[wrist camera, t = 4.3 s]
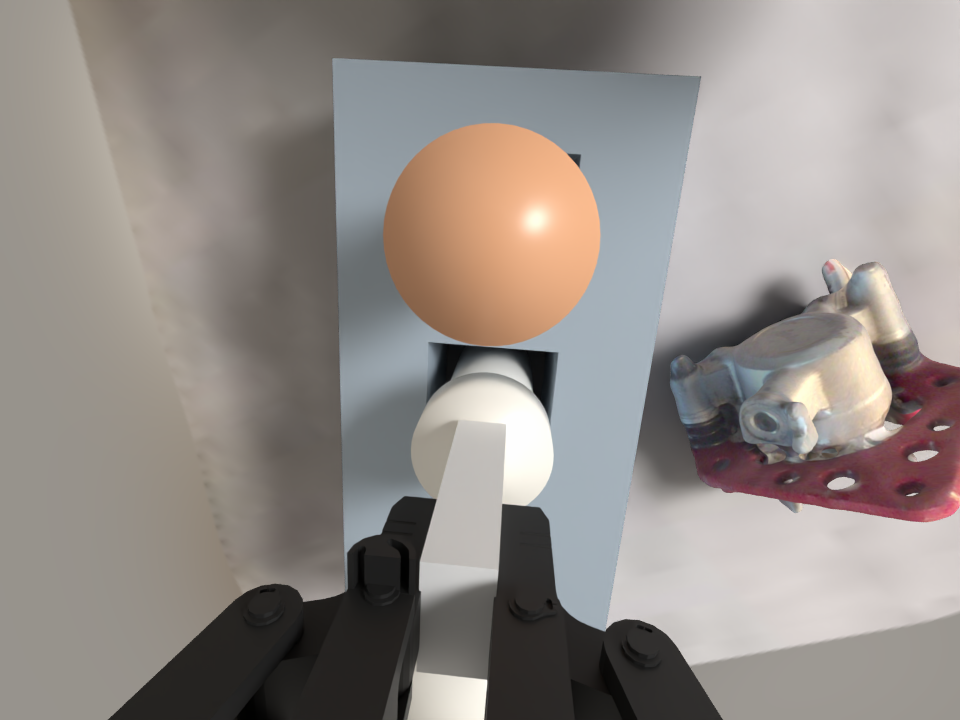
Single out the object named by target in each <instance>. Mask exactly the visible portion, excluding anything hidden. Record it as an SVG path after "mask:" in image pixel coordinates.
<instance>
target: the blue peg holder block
mask: <svg viewBox="0 0 960 720" xmlns="http://www.w3.org/2000/svg"><path fill="white" fill-rule="evenodd" d="M332 64H333V106H334V147H335V189H336V230H337V272H338V313H339V355H340V396H341V438H342V479H343V521H344V563H345V592H346V591H347V589H348V575H347V552H348V551H349V550H350V549H351V547H352V546H353V545H354V544H355V543H357V542H359V541H360V540H362V539H364V538H367V537H370V536H374V535H380V534H381V533H382V529H383V527H384V525H385V522H386V521H387V517H388V515H389V513H390V510H391V508H392V506H393V505H394V504H396V503H397V502H398V501H399V500H400V499H401V498H403V497H404V496H412V497H422V498H432V497H431V496H430V495H429V494H428V493H427V491H426V490H425V489H424V488H423V486H422V485H421V483H420V482H419V480H418V478H417V476H416V474H415V471H414V468H413V465H412V459H411V442H412V438H413V433H414V431H415V428H416V426H417V424H418V422H419V419H420V417H421V415H422V413H423V411H424V408H425V406H426V404H427V403H428V401H429V399H430V398H431V397H432V396H433V394H434V393H435V392H436V391H437V390H438V389H439V388H440V387H442V386H443V385H444V384H446V383H447V382H449V381H451V378H452V375H453V373H454V370H455V368H456V365H457V362H458V360H459V357H460V355H461V353H462V351H463V349H464V348H465V347H466V345H471V346H479V345H472V344H468V343H464V342H460V341H457V340H454V339H452V338H450V337H447V336H445V335H443V334H441V333H440V332H438V331H436V330H434V329H433V328H431V327H430V326H429V325H427V324H426V323H425V322H423V321H422V320H421V319H420V318H419V317H418V316H417V315H416V314H415V313H414V312H413V311H412V310H411V309H410V308H409V306H408V305H407V304H406V303H405V301H404V300H403V298H402V297H401V295H400V293H399V292H398V290H397V289H396V286H395V284H394V282H393V280H392V278H391V275H390V272H389V269H388V266H387V263H386V257H385V252H384V242H383V228H384V218H385V212H386V207H387V204H388V201H389V198H390V195H391V192H392V190H393V188H394V186H395V183H396V181H397V179H398V178H399V176H400V175H401V173H402V171H403V170H404V168H405V167H406V166H407V164H408V163H409V162H410V161H411V160H412V159H413V158H414V156H415V155H416V154H417V153H418V152H420V151H421V150H422V149H423V148H424V147H425V146H427V145H428V144H429V143H431V142H432V141H434V140H435V139H437V138H438V137H440V136H442V135H444V134H446V133H449V132H451V131H453V130H456V129H459V128H462V127H465V126H469V125H475V124H482V123H501V124H509V125H515V126H518V127H522V128H525V129H529V130H531V131H533V132H535V133H538V134H540V135H542V136H544V137H545V138H547V139H548V140H550V141H552V142H553V143H555V144H556V145H557V146H558V147H560V148H561V149H562V150H563V151H564V152H566V153H567V154H568V156H569V157H570V158H571V159H572V160H573V161H574V162H575V163H576V164H577V166H578V167H579V169H580V170H581V172H582V173H583V175H584V176H585V178H586V180H587V182H588V184H589V186H590V188H591V190H592V193H593V196H594V199H595V202H596V204H597V209H598V214H599V219H600V234H601V235H600V250H599V255H598V260H597V264H596V267H595V270H594V273H593V276H592V279H591V281H590V283H589V285H588V287H587V289H586V291H585V293H584V294H583V296H582V297H581V299H580V300H579V302H578V303H577V304H576V306H575V307H574V308H573V309H572V310H571V311H570V313H569V314H568V315H567V316H565V317H564V318H563V319H562V320H561V321H560V322H559V323H557V324H556V325H555V326H553V327H552V328H550V329H549V330H548V331H546V332H544V333H542V334H540V335H538V336H536V337H534V338H531V339H529V340H526V341H523V342H519V343H515V344H511V345H504V346H484V347H496V348H509V349H521V350H526V352H527V354H528V356H529V358H530V362H531V370H532V383H533V393H534V394H535V395H536V396H537V398H538V399H539V400H540V402H541V403H542V405H543V407H544V408H545V411H546V413H547V416H548V419H549V423H550V429H551V436H552V444H553V453H554V458H553V467H552V471H551V474H550V477H549V480H548V481H547V483H546V485H545V487H544V488H543V490H542V491H541V492H540V494H539V495H538V496H537V497H536V498H535V499H534V500H533V501H531V502H530V503H529V504H528V505H526V506H531V507H540V508H541V509H542V511H543V512H544V514H545V515H546V516H547V518H548V519H549V523H550V534H551V535H550V537H551V544H552V554H553V565H554V575H555V585H556V593H557V597H558V599H559V600H560V603H561V605H562V607H563V608H564V609H565V610H566V611H567V612H568V613H569V614H570V615H571V616H573V617H574V618H575V619H577V620H578V621H580V622H582V623H585V624H587V625H589V626H591V627H594V628H597V629H599V630H602V631H605V629H606V623H607V617H608V612H609V606H610V600H611V594H612V589H613V583H614V577H615V571H616V565H617V560H618V554H619V548H620V542H621V537H622V531H623V525H624V519H625V513H626V508H627V502H628V496H629V490H630V485H631V479H632V473H633V467H634V461H635V456H636V450H637V444H638V438H639V433H640V427H641V421H642V415H643V409H644V404H645V398H646V392H647V386H648V381H649V375H650V369H651V363H652V357H653V352H654V346H655V340H656V334H657V329H658V323H659V317H660V311H661V305H662V300H663V294H664V288H665V282H666V277H667V271H668V265H669V259H670V253H671V248H672V242H673V236H674V230H675V225H676V219H677V213H678V207H679V201H680V196H681V190H682V184H683V178H684V173H685V167H686V161H687V155H688V149H689V144H690V138H691V132H692V126H693V121H694V115H695V109H696V103H697V97H698V92H699V86H700V80H701V77H698V76H678V75H659V74H639V73H619V72H600V71H580V70H560V69H540V68H521V67H501V66H481V65H461V64H442V63H422V62H402V61H383V60H363V59H343V58H332Z"/></svg>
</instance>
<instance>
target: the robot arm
mask: <svg viewBox="0 0 960 720" xmlns="http://www.w3.org/2000/svg"><path fill="white" fill-rule="evenodd" d="M505 442H506V424H501V423H489V422H478V421H467V420H459V421H458V425H457V428H456V432H455V436H454V439H453V443H452V446H451V450H450V454H449V457H448V461H447V465H446V468H445V472H444V476H443V479H442V483H441V486H440V490H439V494H438V497H437V499H433V498H422V497H412V496H404V497H403V498H401V499H400V500H399V501H398V502H397V503H396V504H394V505H393V506H392V508H391V510H390V513H389V515H388V517H387V521H386V522H385V525H384V527H383V529H382V533H381V534H380V535H374V536H370V537H367V538H364V539H362V540H360V541H359V542H357V543H355V544H354V545H353V546H352V547H351V549H350V550H349V551H348V552H347V575H348V589H347V591H346V592H344V593H342V594H340V595H337V596H335V597H331V598H326V599H321V600H314V601H307V602H303V599H302V597H301V596H300V594H299V592H298V591H297V590H295V589H294V588H292V587H290V586H288V585H281V584H271V585H264V586H260V587H257V588H255V589H252V590H250V591H247V592H246V593H244V594H243V595H242V596H240V597H239V598H237V599H236V600H235V601H234V602H233V603H232V604H230V605H229V606H228V607H227V608H226V609H225V610H224V611H223V612H222V613H221V614H220V615H219V616H218V617H217V618H216V619H215V620H213V621H212V622H211V623H210V624H209V625H208V626H207V627H206V628H205V629H204V630H203V631H202V632H201V633H200V634H199V635H198V636H196V638H194V639H193V640H192V641H191V642H190V643H189V644H188V645H187V646H186V647H185V648H184V649H183V650H182V651H181V652H180V653H179V654H177V655H176V656H175V657H174V658H173V659H172V660H171V661H170V662H169V663H168V664H167V665H166V666H165V667H164V668H163V669H161V670H160V671H159V672H158V673H157V674H156V675H155V676H154V677H153V678H152V679H151V680H150V681H149V682H148V683H147V684H146V685H144V686H143V687H142V688H141V689H140V690H139V691H138V692H137V693H136V694H135V695H134V696H133V697H132V698H131V699H130V700H128V701H127V702H126V703H125V704H124V705H123V706H122V707H121V708H120V709H119V710H118V711H117V712H116V713H115V714H114V715H113V716H111V717H110V718H109V719H108V720H407V719H408V714H409V709H410V705H411V700H412V681H413V674H414V669H415V665H416V661H417V669H416V672H422V673H431V674H440V675H449V676H457V677H466V678H475V679H484V680H487V690H486V702H485V714H484V720H723V719H722V718H721V716H720V715H719V713H718V712H717V710H716V708H715V707H714V705H713V704H712V702H711V700H710V699H709V697H708V695H707V694H706V692H705V691H704V689H703V688H702V686H701V684H700V683H699V681H698V680H697V678H696V677H695V675H694V673H693V672H692V670H691V668H690V667H689V665H688V664H687V662H686V661H685V659H684V657H683V656H682V654H681V653H680V651H679V649H678V648H677V646H676V645H675V644H674V643H673V641H672V640H671V639H670V638H669V637H668V636H667V635H666V634H665V633H664V632H662V631H661V630H659V629H658V628H656V627H655V626H653V625H651V624H648V623H645V622H642V621H640V620H628V619H625V620H621V621H617V622H614V623H613V624H612V625H611V626H609V627H608V628H607V629H606V632H605V631H602V630H599V629H597V628H594V627H591V626H589V625H587V624H585V623H582V622H580V621H578V620H577V619H575V618H574V617H573V616H571V615H570V614H569V613H568V612H567V611H566V610H565V609H564V608H563V607H562V605H561V603H560V600H559V599H558V597H557V593H556V585H555V575H554V565H553V554H552V544H551V537H550V535H551V534H550V523H549V519H548V518H547V516H546V515H545V514H544V512H543V511H542V509H541V508H540V507H531V506H521V505H510V504H502V497H503V479H504V460H505Z"/></svg>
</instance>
